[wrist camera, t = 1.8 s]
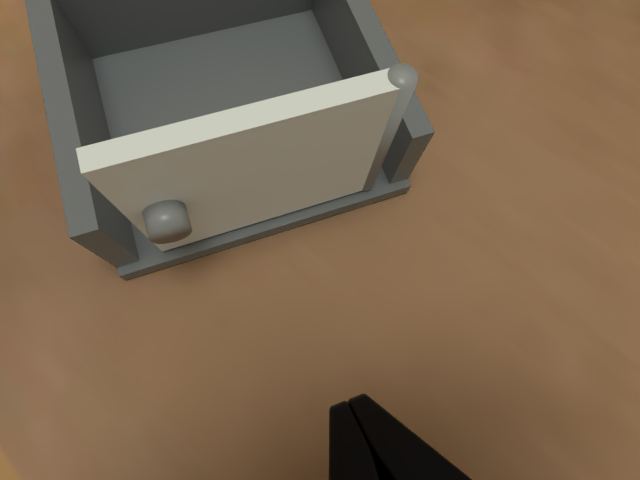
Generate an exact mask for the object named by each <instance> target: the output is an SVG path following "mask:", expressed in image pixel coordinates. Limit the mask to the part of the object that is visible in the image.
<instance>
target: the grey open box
mask: <svg viewBox="0 0 640 480" xmlns="http://www.w3.org/2000/svg"><path fill="white" fill-rule="evenodd" d="M25 5H26V10H27V15H28V21H29V26H30V31H31V37H32V42H33V47H34V53H35V58H36V63H37V69H38V74H39V79H40V85H41V90H42V95H43V100H44V106H45V111H46V116H47V122H48V127H49V132H50V138H51V143H52V148H53V154H54V159H55V164H56V170H57V175H58V180H59V186H60V191H61V196H62V202H63V207H64V212H65V218H66V223H67V228H68V234H69V238H70V239H72V240H74V241H75V242H77V243H78V244H80V245H82V246H83V247H85V248H86V249H88V250H90V251H91V252H93V253H94V254H96V255H98V256H99V257H101V258H102V259H104V260H106V261H107V262H109V263H111V264H112V265H114V266H115V267H117V269H118V274H119V277H121V278H123V279H125V280H129V279H132V278H136V277H139V276H142V275H145V274H148V273H152V272H155V271H158V270H161V269H164V268H168V267H171V266H174V265H177V264H180V263H184V262H187V261H190V260H193V259H196V258H200V257H203V256H206V255H209V254H212V253H216V252H219V251H222V250H225V249H228V248H232V247H235V246H238V245H241V244H244V243H248V242H251V241H254V240H257V239H260V238H264V237H267V236H270V235H273V234H276V233H280V232H283V231H286V230H289V229H292V228H296V227H299V226H302V225H305V224H308V223H312V222H315V221H318V220H321V219H324V218H328V217H331V216H334V215H337V214H340V213H344V212H347V211H350V210H353V209H356V208H360V207H363V206H366V205H369V204H372V203H376V202H379V201H382V200H385V199H388V198H392V197H395V196H398V195H401V194H404V193H407V191H408V190H409V188H410V187H411V185H410V183H409V180H408V177H409V176H410V174H411V172H412V170H413V169H414V167H415V165H416V163H417V162H418V160H419V158H420V157H421V155H422V153H423V151H424V150H425V148H426V146H427V145H428V143H429V141H430V139H431V138H432V136H433V134H434V133H435V131H434V129H433V127H432V125H431V123H430V121H429V119H428V117H427V115H426V113H425V111H424V109H423V107H422V105H421V103H420V101H419V99H418V97H417V95H416V93H415V91H413V94H412V96H411V99H410V101H409V103H408V106H407V108H406V110H405V113H404V115H403V117H402V120H401V122H400V124H399V127H398V129H397V132H396V134H395V136H394V139H393V141H392V143H391V146H390V148H389V150H388V153H387V155H386V157H385V160H384V162H383V165H382V167H381V169H380V172H379V174H378V176H377V179H376V181H375V183H374V186H373V187H372V188H371V189H370V190H368V191H359V192H356V193H353V194H349V195H346V196H343V197H339V198H336V199H333V200H330V201H326V202H323V203H320V204H317V205H313V206H310V207H307V208H303V209H300V210H297V211H294V212H290V213H287V214H284V215H281V216H277V217H274V218H271V219H267V220H264V221H261V222H258V223H254V224H251V225H248V226H245V227H241V228H238V229H235V230H231V231H228V232H225V233H222V234H218V235H215V236H212V237H208V238H205V239H202V240H199V241H195V242H192V243H189V244H186V245H182V246H179V247H176V248H172V249H169V250H166V251H163V252H162V251H161V250H160V249H159V248H158V247H157V246H156V245H155V244H154V243H152V242H150V241H149V239H148V238H147V237H146V236H145V235H144V234H143V233H142V232H141V231H140V230H139V229H138V228H137V227H136V226H135V225H134V224H133V223H132V222H131V221H130V220H129V219H128V218H127V217H126V216H125V215H123V214H122V213H121V212H120V211H119V210H118V209H117V208H116V207H115V206H114V205H113V204H112V203H111V202H110V201H109V200H108V199H107V198H106V197H105V196H104V195H103V194H102V193H101V192H100V191H99V190H97V189H96V188H95V187H94V186H93V185H92V184H91V183H90V182H89V181H88V180H87V179H86V178H85V177H84V176H83V175H82V174H81V172H80V167H79V162H78V157H77V152H76V148H79V147H83V146H87V145H91V144H95V143H98V142H102V141H106V140H110V139H114V138H118V137H122V136H126V135H130V134H134V133H138V132H141V131H145V130H149V129H153V128H157V127H161V126H165V125H169V124H173V123H177V122H180V121H184V120H188V119H192V118H196V117H200V116H204V115H208V114H212V113H216V112H220V111H223V110H227V109H231V108H235V107H239V106H243V105H247V104H251V103H255V102H259V101H263V100H266V99H270V98H274V97H278V96H282V95H286V94H290V93H294V92H298V91H302V90H306V89H309V88H313V87H317V86H321V85H325V84H329V83H333V82H337V81H341V80H345V79H349V78H352V77H356V76H360V75H364V74H368V73H372V72H376V71H380V70H384V69H388V68H390V67H392V66H393V65H395V64H399V63H400V61H399V59H398V57H397V55H396V53H395V51H394V49H393V47H392V45H391V43H390V41H389V39H388V37H387V35H386V33H385V31H384V29H383V27H382V25H381V23H380V21H379V19H378V17H377V15H376V13H375V11H374V9H373V7H372V5H371V3H370V1H369V0H25Z"/></svg>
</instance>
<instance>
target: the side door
mask: <svg viewBox="0 0 640 480" xmlns="http://www.w3.org/2000/svg"><path fill="white" fill-rule="evenodd" d="M417 82H418V73H417V71H416V70H415V69H414V68H413V67H412V66H410V65H408V64H403V63H399V64H395V65H393V66H392V67H390V68H388V69H384V70H380V71H376V72H372V73H368V74H364V75H360V76H356V77H352V78H349V79H345V80H341V81H337V82H333V83H329V84H325V85H321V86H317V87H313V88H309V89H306V90H302V91H298V92H294V93H290V94H286V95H282V96H278V97H274V98H270V99H266V100H263V101H259V102H255V103H251V104H247V105H243V106H239V107H235V108H231V109H227V110H223V111H220V112H216V113H212V114H208V115H204V116H200V117H196V118H192V119H188V120H184V121H180V122H177V123H173V124H169V125H165V126H161V127H157V128H153V129H149V130H145V131H141V132H138V133H134V134H130V135H126V136H122V137H118V138H114V139H110V140H106V141H102V142H98V143H95V144H91V145H87V146H83V147H79V148H76V152H77V157H78V162H79V167H80V172H81V174H82V175H83V176H84V177H85V178H86V179H87V180H88V181H89V182H90V183H91V184H92V185H93V186H94V187H95V188H96V189H97V190H99V191H100V192H101V193H102V194H103V195H104V196H105V197H106V198H107V199H108V200H109V201H110V202H111V203H112V204H113V205H114V206H115V207H116V208H117V209H118V210H119V211H120V212H121V213H122V214H123V215H125V216H126V217H127V218H128V219H129V220H130V221H131V222H132V223H133V224H134V225H135V226H136V227H137V228H138V229H139V230H140V231H141V232H142V233H143V234H144V235H145V236H146V237H147V238H148V239H149V241H150V242H152V243H154V244H155V245H156V246H157V247H158V248H159V249H160V250H161V251H162V252H163V251H166V250H169V249H172V248H176V247H179V246H182V245H186V244H189V243H192V242H195V241H199V240H202V239H205V238H208V237H212V236H215V235H218V234H222V233H225V232H228V231H231V230H235V229H238V228H241V227H245V226H248V225H251V224H254V223H258V222H261V221H264V220H267V219H271V218H274V217H277V216H281V215H284V214H287V213H290V212H294V211H297V210H300V209H303V208H307V207H310V206H313V205H317V204H320V203H323V202H326V201H330V200H333V199H336V198H339V197H343V196H346V195H349V194H353V193H356V192H359V191H368V190H370V189H371V188H372V187H373V186H374V183H375V181H376V179H377V176H378V174H379V172H380V169H381V167H382V165H383V162H384V160H385V157H386V155H387V153H388V150H389V148H390V146H391V143H392V141H393V139H394V136H395V134H396V132H397V129H398V127H399V124H400V122H401V120H402V117H403V115H404V113H405V110H406V108H407V106H408V103H409V101H410V99H411V96H412V94H413V91H414V89H415V87H416V84H417Z"/></svg>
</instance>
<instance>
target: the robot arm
mask: <svg viewBox="0 0 640 480" xmlns="http://www.w3.org/2000/svg"><path fill="white" fill-rule="evenodd" d="M329 480H472V479H470V478H469V477H468V476H467V475H465V474H464V473H463V472H462V471H460V470H459V469H458V468H457V467H455V466H454V465H453V464H452V463H451V462H449V461H448V460H447V459H446V458H444V457H443V456H442V455H441V454H439V453H438V452H437V451H436V450H434V449H433V448H432V447H431V446H429V445H428V444H427V443H426V442H424V441H423V440H422V439H421V438H420V437H418V436H417V435H416V434H415V433H413V432H412V431H411V430H410V429H408V428H407V427H406V426H405V425H403V424H402V423H401V422H400V421H398V420H397V419H396V418H395V417H393V416H392V415H391V414H390V413H389V412H387V411H386V410H385V409H384V408H382V407H381V406H380V405H379V404H377V403H376V402H375V401H374V400H372V399H371V398H370V397H369V396H367V395H366V394H361V395H358V396H356V397H353V398H350V399H349V400H348V402H347V401H343V402H340V403H338V404H335V405H333V406H331V407H330V411H329Z"/></svg>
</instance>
